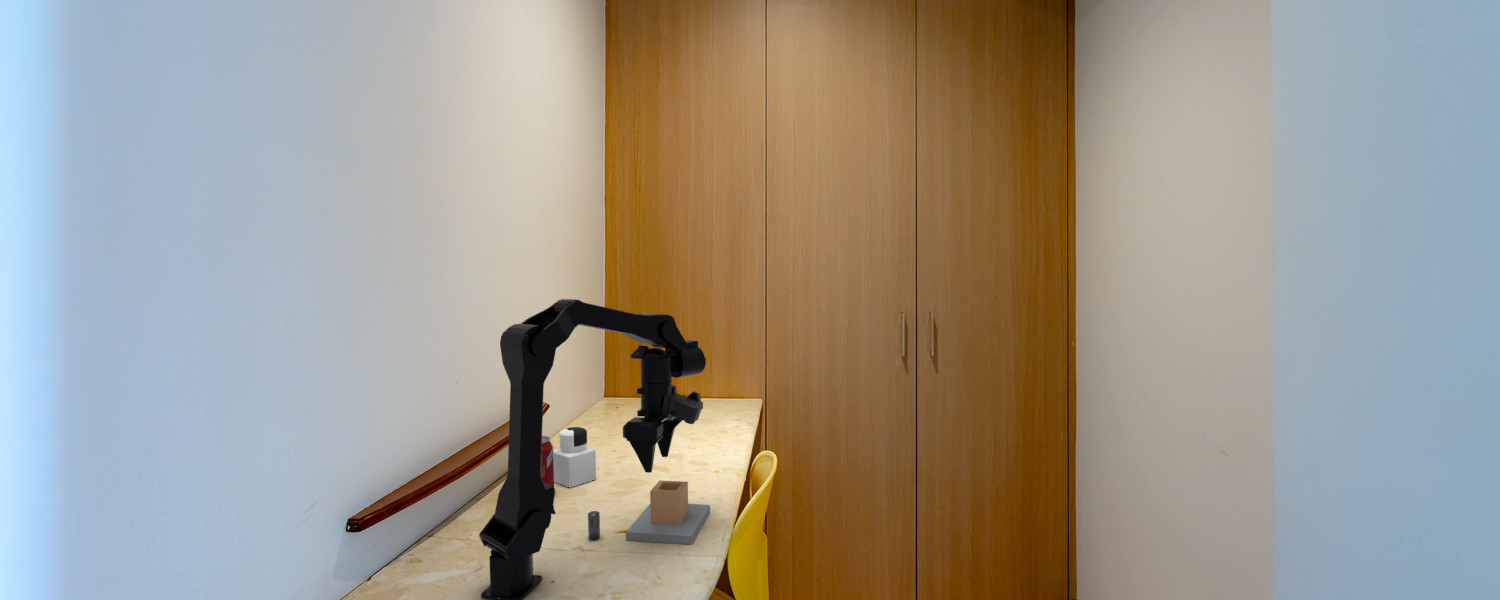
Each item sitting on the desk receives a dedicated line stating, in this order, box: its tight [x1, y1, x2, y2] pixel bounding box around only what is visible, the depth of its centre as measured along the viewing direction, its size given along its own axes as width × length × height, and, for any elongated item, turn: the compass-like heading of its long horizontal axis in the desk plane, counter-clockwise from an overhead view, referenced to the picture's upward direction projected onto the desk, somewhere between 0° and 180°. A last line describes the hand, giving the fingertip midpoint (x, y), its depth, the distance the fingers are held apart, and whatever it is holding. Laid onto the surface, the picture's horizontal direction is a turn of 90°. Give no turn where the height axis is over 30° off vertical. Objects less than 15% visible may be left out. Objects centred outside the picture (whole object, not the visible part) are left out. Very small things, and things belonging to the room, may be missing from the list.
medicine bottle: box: [553, 426, 597, 489], centre depth 135 cm, size 7×7×12 cm
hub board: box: [625, 503, 711, 546], centre depth 111 cm, size 14×12×6 cm
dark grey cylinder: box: [587, 510, 601, 541], centre depth 106 cm, size 2×2×4 cm
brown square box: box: [649, 480, 689, 525], centre depth 111 cm, size 6×6×6 cm
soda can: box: [541, 435, 555, 488], centre depth 127 cm, size 7×7×12 cm
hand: (657, 464), depth 110 cm, fingers open, 9 cm apart
